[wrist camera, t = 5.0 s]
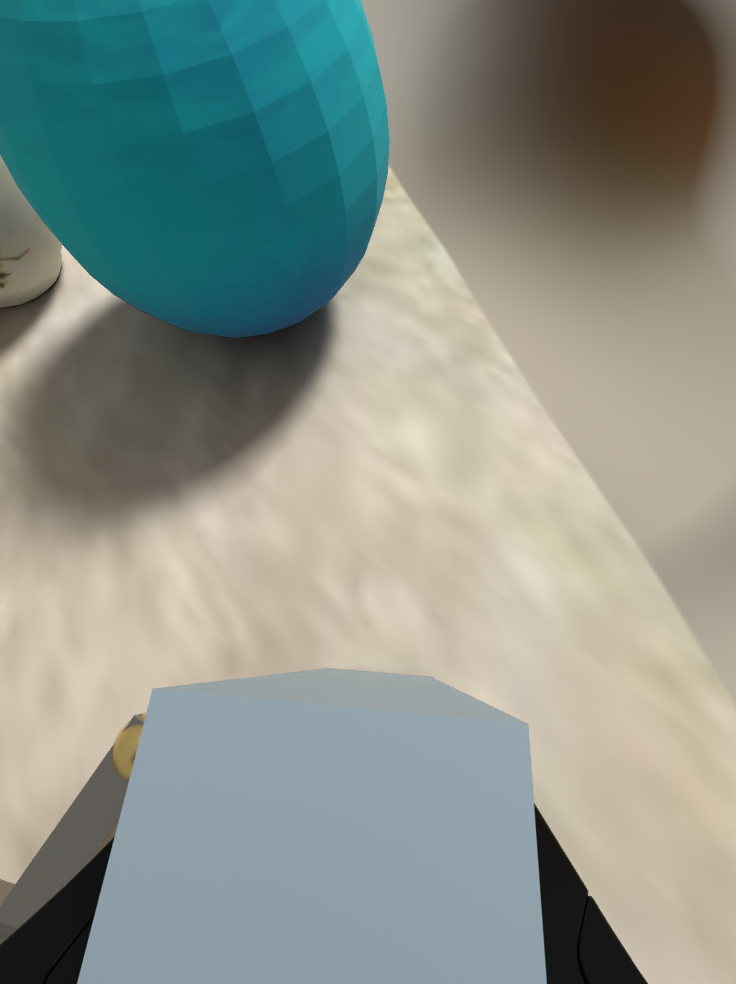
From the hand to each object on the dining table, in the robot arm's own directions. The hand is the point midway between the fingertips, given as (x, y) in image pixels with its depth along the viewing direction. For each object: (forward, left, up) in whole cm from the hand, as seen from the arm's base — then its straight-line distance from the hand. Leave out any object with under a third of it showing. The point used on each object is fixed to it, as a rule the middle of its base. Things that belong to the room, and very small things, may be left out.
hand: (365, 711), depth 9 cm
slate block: (-1, +1, -7) cm, 7 cm away
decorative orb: (+22, -3, -7) cm, 23 cm away
